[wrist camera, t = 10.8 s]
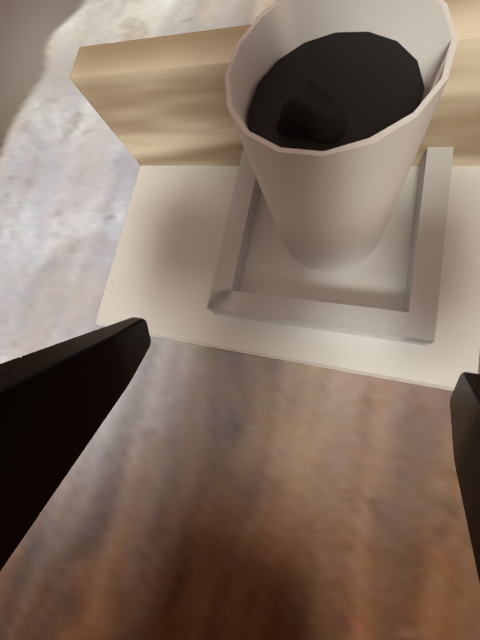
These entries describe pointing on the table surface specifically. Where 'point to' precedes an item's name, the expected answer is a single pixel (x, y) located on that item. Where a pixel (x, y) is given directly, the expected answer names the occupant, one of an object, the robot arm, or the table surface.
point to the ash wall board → (211, 104)
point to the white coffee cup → (337, 114)
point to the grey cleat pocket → (305, 275)
